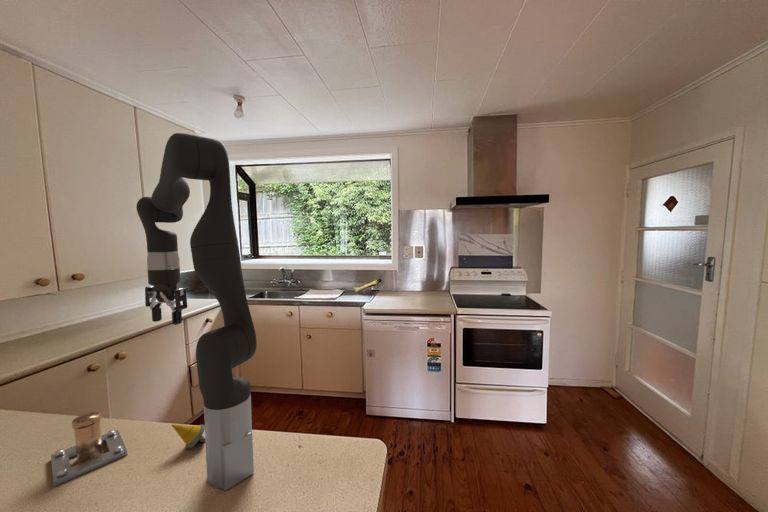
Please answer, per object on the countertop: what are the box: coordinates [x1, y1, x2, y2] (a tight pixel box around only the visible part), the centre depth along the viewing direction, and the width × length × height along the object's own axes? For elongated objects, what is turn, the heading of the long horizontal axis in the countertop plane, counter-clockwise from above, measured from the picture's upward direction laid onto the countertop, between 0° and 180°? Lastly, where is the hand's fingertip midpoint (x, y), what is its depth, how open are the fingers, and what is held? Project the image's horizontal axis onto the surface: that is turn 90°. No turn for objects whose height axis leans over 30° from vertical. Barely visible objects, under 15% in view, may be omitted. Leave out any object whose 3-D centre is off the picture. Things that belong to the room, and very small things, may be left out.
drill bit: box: [171, 423, 206, 450], centre depth 75 cm, size 5×5×10 cm
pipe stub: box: [71, 410, 104, 465], centre depth 71 cm, size 5×5×10 cm
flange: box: [50, 429, 128, 488], centre depth 71 cm, size 12×12×2 cm
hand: (167, 322), depth 86 cm, fingers open, 8 cm apart
